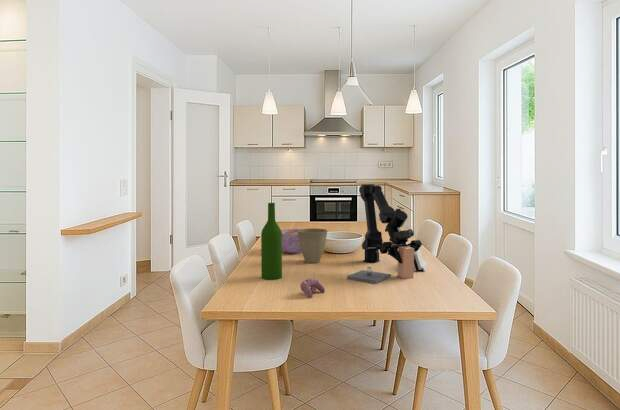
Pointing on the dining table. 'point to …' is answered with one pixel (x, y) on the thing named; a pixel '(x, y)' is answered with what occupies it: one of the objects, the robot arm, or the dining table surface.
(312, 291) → the video game controller
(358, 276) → the charcoal plate
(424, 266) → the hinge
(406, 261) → the terracotta sleeve
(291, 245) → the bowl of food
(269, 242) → the wine bottle
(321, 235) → the plant pot
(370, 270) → the metal stub
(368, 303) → the dining table surface
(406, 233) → the robot arm
